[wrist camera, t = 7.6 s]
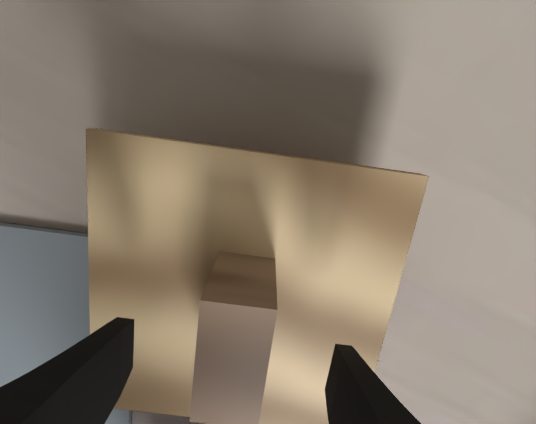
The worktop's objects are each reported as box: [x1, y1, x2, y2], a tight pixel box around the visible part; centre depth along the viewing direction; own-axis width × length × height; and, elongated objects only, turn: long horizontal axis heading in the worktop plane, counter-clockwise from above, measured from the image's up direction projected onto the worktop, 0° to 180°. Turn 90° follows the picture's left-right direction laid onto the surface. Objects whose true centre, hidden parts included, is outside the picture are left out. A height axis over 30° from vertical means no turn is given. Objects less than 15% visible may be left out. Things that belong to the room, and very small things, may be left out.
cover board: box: [86, 128, 429, 424], centre depth 13 cm, size 14×14×5 cm
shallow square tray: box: [0, 222, 132, 424], centre depth 21 cm, size 16×16×1 cm
